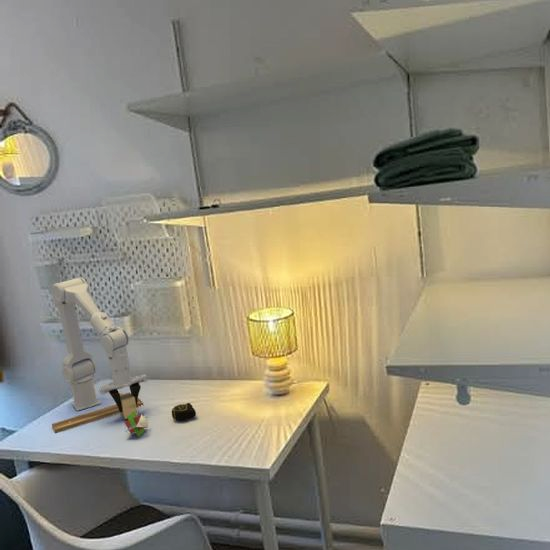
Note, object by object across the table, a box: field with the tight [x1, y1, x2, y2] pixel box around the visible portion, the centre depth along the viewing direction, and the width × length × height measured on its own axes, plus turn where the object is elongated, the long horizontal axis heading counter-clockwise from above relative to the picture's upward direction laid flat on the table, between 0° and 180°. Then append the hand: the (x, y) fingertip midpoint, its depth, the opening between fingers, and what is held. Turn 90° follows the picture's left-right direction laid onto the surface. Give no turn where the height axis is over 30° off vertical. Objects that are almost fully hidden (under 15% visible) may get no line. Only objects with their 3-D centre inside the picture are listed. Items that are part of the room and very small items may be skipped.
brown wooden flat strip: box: [51, 397, 144, 434], centre depth 194 cm, size 6×28×1 cm, turn 119°
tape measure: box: [171, 402, 197, 422], centre depth 182 cm, size 7×7×4 cm
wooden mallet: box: [118, 391, 139, 420], centre depth 192 cm, size 13×4×6 cm, turn 29°
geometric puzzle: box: [123, 411, 149, 438], centre depth 175 cm, size 7×7×8 cm
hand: (128, 409), depth 189 cm, fingers closed on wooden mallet, 4 cm apart
